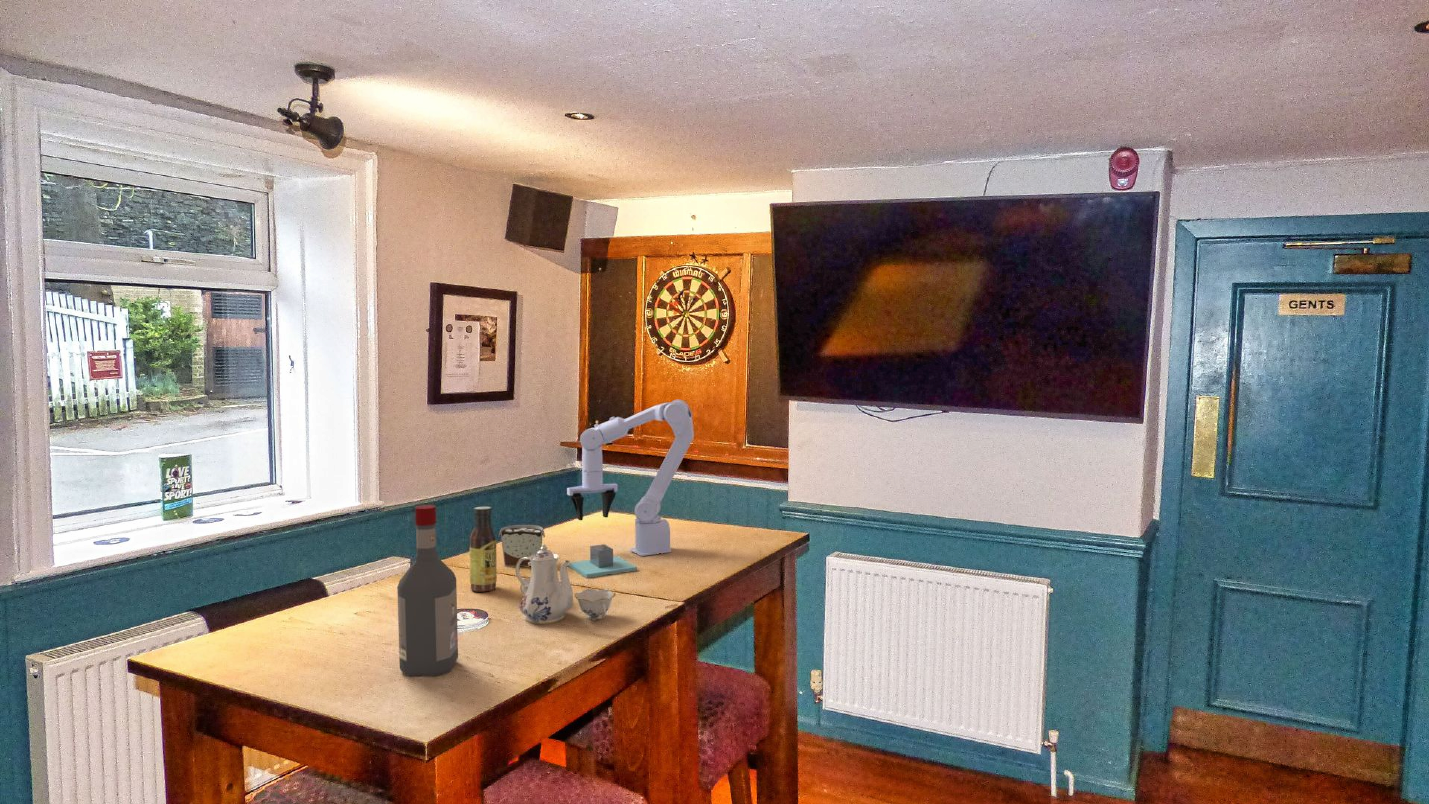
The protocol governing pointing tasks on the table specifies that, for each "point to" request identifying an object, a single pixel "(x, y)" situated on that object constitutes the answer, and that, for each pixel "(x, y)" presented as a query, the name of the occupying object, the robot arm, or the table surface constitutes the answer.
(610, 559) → the block
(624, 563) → the teal board
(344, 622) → the table surface
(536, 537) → the food container
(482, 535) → the sauce bottle
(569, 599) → the chinaware
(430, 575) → the liquor
